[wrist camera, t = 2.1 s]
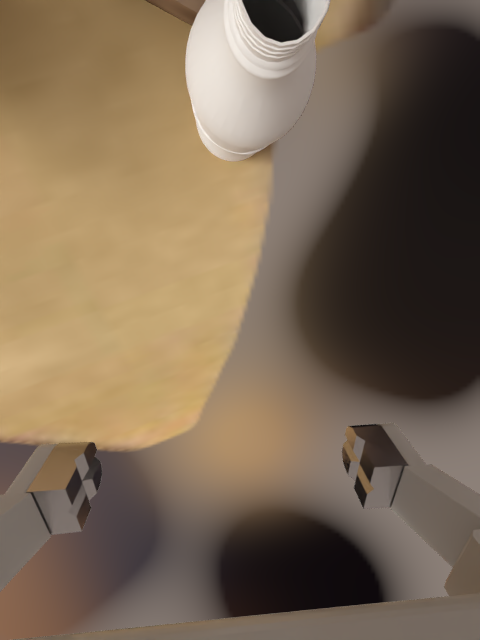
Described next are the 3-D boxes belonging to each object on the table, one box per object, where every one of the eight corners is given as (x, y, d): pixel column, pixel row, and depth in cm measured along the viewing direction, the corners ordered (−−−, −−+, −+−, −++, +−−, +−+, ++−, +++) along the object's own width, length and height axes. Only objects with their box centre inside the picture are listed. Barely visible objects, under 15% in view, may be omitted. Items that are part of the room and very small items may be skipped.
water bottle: (212, 173, 33) (219, 158, 10) (185, 99, 30) (112, -146, 7) (272, 148, 32) (413, 76, 10) (251, 70, 29) (387, -288, 7)
